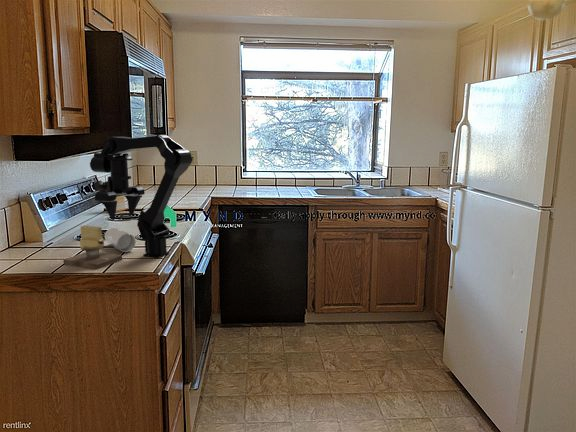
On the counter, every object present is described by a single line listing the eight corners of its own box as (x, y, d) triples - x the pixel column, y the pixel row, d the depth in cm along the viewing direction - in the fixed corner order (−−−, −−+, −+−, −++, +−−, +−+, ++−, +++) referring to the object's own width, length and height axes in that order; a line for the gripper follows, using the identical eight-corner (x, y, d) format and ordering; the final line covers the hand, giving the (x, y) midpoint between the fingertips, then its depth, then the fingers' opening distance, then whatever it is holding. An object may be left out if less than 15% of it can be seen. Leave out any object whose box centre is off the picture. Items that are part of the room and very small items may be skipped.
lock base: (122, 259, 153) (121, 246, 152) (97, 269, 143) (96, 255, 142) (89, 255, 158) (88, 242, 158) (63, 263, 148) (62, 250, 147)
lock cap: (75, 249, 148) (74, 227, 147) (93, 244, 154) (91, 223, 153) (94, 252, 145) (92, 230, 144) (111, 247, 151) (110, 226, 150)
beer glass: (124, 239, 176) (139, 246, 165) (107, 248, 173) (121, 256, 161) (117, 223, 174) (131, 229, 162) (100, 231, 170) (113, 238, 159)
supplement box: (119, 209, 246) (118, 184, 243) (126, 210, 244) (124, 185, 241) (106, 211, 239) (105, 186, 236) (113, 212, 237) (111, 187, 234)
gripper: (119, 170, 171) (122, 211, 174) (80, 174, 154) (84, 220, 157) (144, 171, 167) (146, 213, 170) (106, 176, 150) (109, 223, 153)
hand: (122, 217), depth 162 cm, fingers open, 9 cm apart
